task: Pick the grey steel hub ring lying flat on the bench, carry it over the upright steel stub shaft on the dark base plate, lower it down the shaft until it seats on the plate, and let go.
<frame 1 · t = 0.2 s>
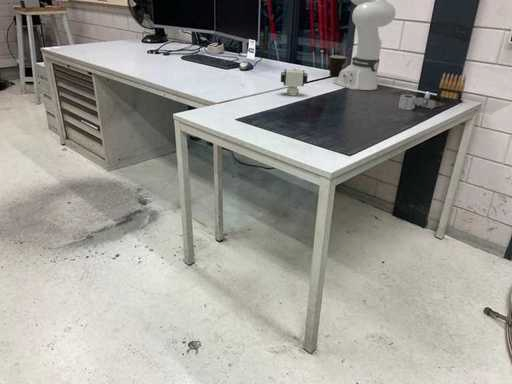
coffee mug: (333, 76, 228), on the table
shaft stand: (425, 104, 185), on the table
hub: (406, 107, 178), on the table
pneumatic valve: (292, 95, 190), on the table
ammunition clip: (447, 100, 193), on the table
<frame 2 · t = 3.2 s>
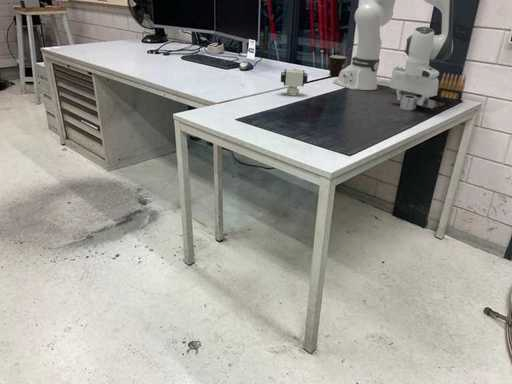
hand: (409, 102, 177), 2 cm above the table, fingers open, 8 cm apart
nothing on the table moved.
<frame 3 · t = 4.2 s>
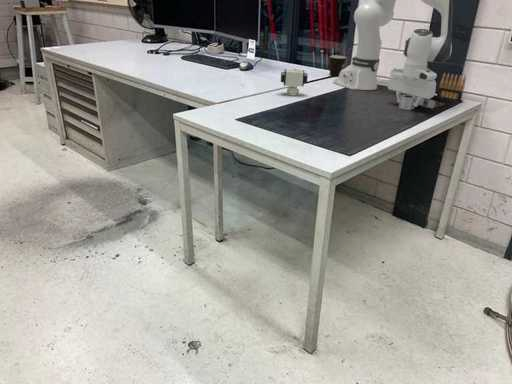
hand: (407, 104, 177), 2 cm above the table, fingers closed on hub, 6 cm apart
hub: (406, 107, 178), on the table, touching gripper
everything else where it was.
when the fingers open (3 cm above the table, at t = 9.3 s): hub stays where it is, resting on shaft stand.
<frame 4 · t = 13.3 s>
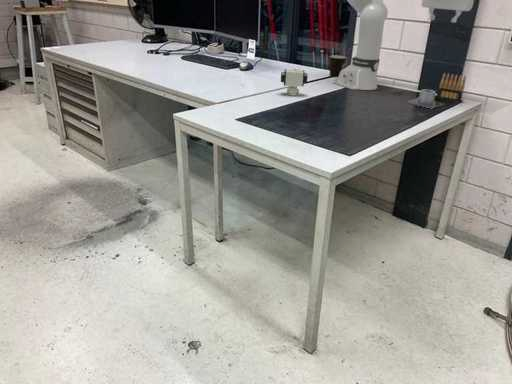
hand: (442, 21, 173), 34 cm above the table, fingers open, 8 cm apart
hub: (425, 102, 185), point 1 cm above the table, touching shaft stand
everything else where it was.
at the end: hub 0.2 cm off-centre on the shaft stand, point 0.8 cm above the shaft stand's base; hub tilted 0°; the gripper is holding nothing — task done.
